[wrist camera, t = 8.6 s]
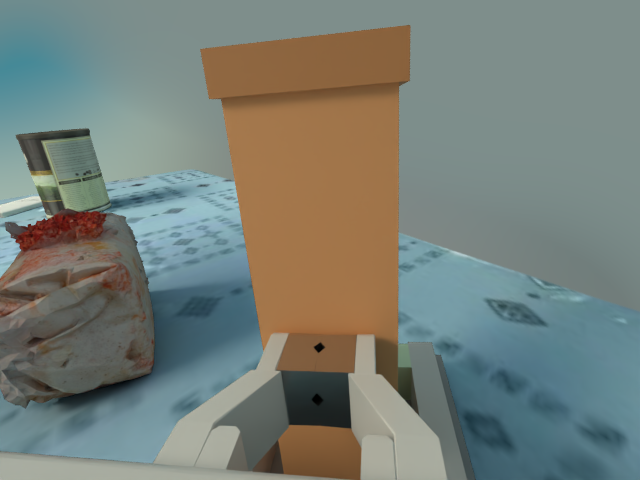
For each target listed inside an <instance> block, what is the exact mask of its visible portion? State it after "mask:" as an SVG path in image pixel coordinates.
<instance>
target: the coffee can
mask: <svg viewBox="0 0 640 480" xmlns="http://www.w3.org/2000/svg"><path fill="white" fill-rule="evenodd" d="M16 138H17V140H18V141H19V144H20V146H21V149H22V151H23V154H24V157H25V159H26V162H27V165H28V167H29V170H30V172H31V175H32V178H33V180H34V183H35V185H36V188H37V191H38V193H39V196H40V199H41V202H42V204H43V207H44V209H45V212H46V217H47V218H51V217H52V216H54V215H55V214H57V213H58V212H60V211H61V210H63V209H67V208H69V209H72V210H75V211H78V212H87V211H88V212H93V211H98V212H100V211H103V210H105V209H108V208H109V207H111V203H110V200H109V197H108V193H107V190H106V187H105V183H104V180H103V177H102V173H101V170H100V167H99V163H98V160H97V157H96V153H95V150H94V147H93V144H92V140H91V137H90V130H89V129H72V130H61V131H49V132H38V133H29V134H19V135H16Z"/></svg>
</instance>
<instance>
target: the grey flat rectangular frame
mask: <svg viewBox="0 0 640 480" xmlns="http://www.w3.org/2000/svg"><path fill="white" fill-rule="evenodd" d="M398 393H399V394H400V396H401V397H402V398H403V399H404V400H405V401H406V402H407V403H408V404H409V406H410V407H411V408H412V409H413V410H414V411H415V412H416V413H417V414H418V415H419V417H420V418H421V419H422V420H423V421H424V422H425V423H426V424H427V425H428V426H429V428H430V429H431V430H432V431H433V432H434V433H435V434H436V435H437V436H438V437H439V442H440V447H441V451H442V456H443V461H444V466H445V471H446V476H447V480H476V479H475V475H474V472H473V468H472V465H471V461H470V458H469V454H468V450H467V447H466V443H465V440H464V436H463V433H462V429H461V425H460V422H459V418H458V415H457V411H456V408H455V404H454V400H453V397H452V393H451V390H450V386H449V382H448V379H447V375H446V372H445V368H444V365H443V361H442V357H441V355H435V353H434V349H433V345H432V342H408V344H398ZM251 472H263V473H276V474H284V471H283V465H282V459H281V453H280V447H279V441H278V440H277V441H276V442H275V444H274V445H273V446H272V447H271V448H270V449H269V451H268V452H267V453H266V454H265V455H264V456H263V457H262V459H261V460H260V461H259V462H258V463H257V464H256V466H255V467H254V468H253V469H252V470H251Z"/></svg>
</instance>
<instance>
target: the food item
mask: <svg viewBox="0 0 640 480" xmlns="http://www.w3.org/2000/svg"><path fill="white" fill-rule="evenodd" d="M125 220H126V217H124V216H119V215H116V214H113V213H100V212H98V211H93V212H88V211H87V212H78V211H75V210H72V209H69V208H67V209H63V210H61V211H60V212H58V213H57V214H55V215H54V216H52V217H51V218H49V219H48V220H47V221H46V220H45V219H43V220H42V221H37V223H36V225H33V226H31V224H29V225H28V227H26V226H18V225H17V224H16V223H11V222H5V225H6V231H8V232H9V233H10V234H11V238H14V239H17V240H16V243H19V244H20V249H21V252H20V253H19V254H18V255H17V257H16V259H15V260H14V262H13V263H12V264H11V266H10V267H9V268H8V269H7V271H6V272H5V273H4V274H3V275H2V277H1V278H0V389H1V391H2V393H3V396H4V399H5V400H7V401H8V402H10V403H12V404H15V405H21V406H22V407H24V408H25V409H26V407H27V405H28V404H29V402H30V400H33V401H35V402H38V403H44V402H46V401H49V400H51V399H53V398H61V397H68V396H71V395H75V394H78V393H84V392H88V391H91V390H93V389H98V388H102V387H106V386H109V385H112V384H116V383H119V382H122V381H125V380H130V379H134V378H137V377H140V376H143V375H146V374H149V373H151V371H152V367H153V364H154V347H155V337H154V318H153V311H152V303H151V299H150V294H149V289H148V284H149V282H148V277H147V278H146V273H145V270H144V266H143V263H142V262H143V261H142V260H141V257H140V255H139V252H138V249H137V247H136V246H137V243H138V242H137V241H136V240H135V237H134V234H133V231H132V230H131V228H130V227H129V226H128V224H127V223H126V221H125ZM8 224H10V225H8ZM15 235H16V236H15ZM12 236H14V237H12Z"/></svg>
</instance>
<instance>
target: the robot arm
mask: <svg viewBox="0 0 640 480" xmlns="http://www.w3.org/2000/svg"><path fill="white" fill-rule="evenodd" d="M289 425H308V426H327V427H338V428H350V429H352V432H353V434H354V435H355V437H356V439H357V441H358V443H359V445H360V446H361V448H362V453H361V477H360V480H447V476H446V471H445V466H444V461H443V456H442V451H441V447H440V442H439V437H438V436H437V435H436V434H435V433H434V432H433V431H432V430H431V429H430V428H429V426H428V425H427V424H426V423H425V422H424V421H423V420H422V419H421V418H420V417H419V415H418V414H417V413H416V412H415V411H414V410H413V409H412V408H411V407H410V406H409V404H408V403H407V402H406V401H405V400H404V399H403V398H402V397H401V396H400V394H399V393H398V392H397V391H396V390H395V389H394V388H393V387H392V386H391V385H390V383H389V382H388V381H387V380H386V379H385V378H384V377H383V376H382V375H380V374H376V348H375V335H374V334H357V335H323V334H306V333H273V334H272V335H271V336H270V338H269V341H268V343H267V345H266V348H265V350H264V352H263V355H262V357H261V359H260V362H259V364H258V366H257V369H256V370H250V371H249V372H247V373H246V374H245V375H243V376H242V377H240V378H239V379H237V380H236V381H235V382H233V383H232V384H230V385H229V386H228V387H226V388H225V389H223V390H222V391H220V392H219V393H218V394H216V395H215V396H213V397H212V398H210V399H209V400H208V401H206V402H205V403H203V404H202V405H201V406H199V407H198V408H196V409H195V410H193V411H192V412H191V413H189V414H188V415H186V416H185V417H183V418H182V419H181V420H179V421H178V422H177V424H176V426H175V427H174V429H173V431H172V432H171V434H170V435H169V437H168V439H167V440H166V442H165V444H164V445H163V447H162V449H161V450H160V452H159V454H158V455H157V457H156V459H155V460H154V462H153V464H152V463H140V462H127V461H115V460H103V459H90V458H78V457H65V456H53V455H41V454H28V453H16V452H4V451H0V480H350V479H338V478H325V477H313V476H301V475H288V474H276V473H263V472H251V470H252V469H253V468H254V467H255V466H256V464H257V463H258V462H259V461H260V460H261V459H262V457H263V456H264V455H265V454H266V453H267V452H268V451H269V449H270V448H271V447H272V446H273V445H274V444H275V442H276V441H277V440H278V439H279V438H280V437H281V436H282V434H283V433H284V432H285V431H286V430H287V429H288V427H289Z"/></svg>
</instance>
